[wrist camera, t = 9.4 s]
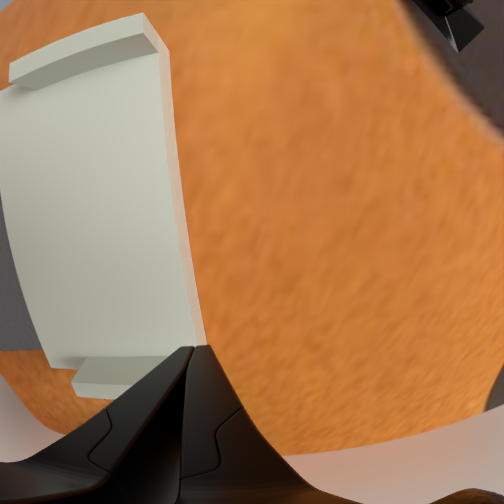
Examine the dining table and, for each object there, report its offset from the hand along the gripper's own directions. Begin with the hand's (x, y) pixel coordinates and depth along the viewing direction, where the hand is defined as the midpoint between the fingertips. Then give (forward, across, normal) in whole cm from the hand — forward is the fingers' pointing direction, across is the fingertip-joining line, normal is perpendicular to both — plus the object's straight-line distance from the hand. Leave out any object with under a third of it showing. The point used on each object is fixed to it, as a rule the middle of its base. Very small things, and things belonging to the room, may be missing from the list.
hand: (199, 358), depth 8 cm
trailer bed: (+12, +8, -3) cm, 15 cm away
